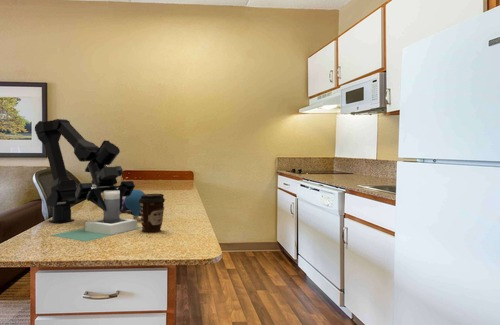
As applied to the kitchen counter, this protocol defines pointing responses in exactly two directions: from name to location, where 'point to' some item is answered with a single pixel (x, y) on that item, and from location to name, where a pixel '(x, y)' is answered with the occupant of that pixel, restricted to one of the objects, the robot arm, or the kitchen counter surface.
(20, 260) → the kitchen counter surface
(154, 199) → the coffee cup
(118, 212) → the dome-topped cylinder
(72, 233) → the board
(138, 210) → the light bulb
